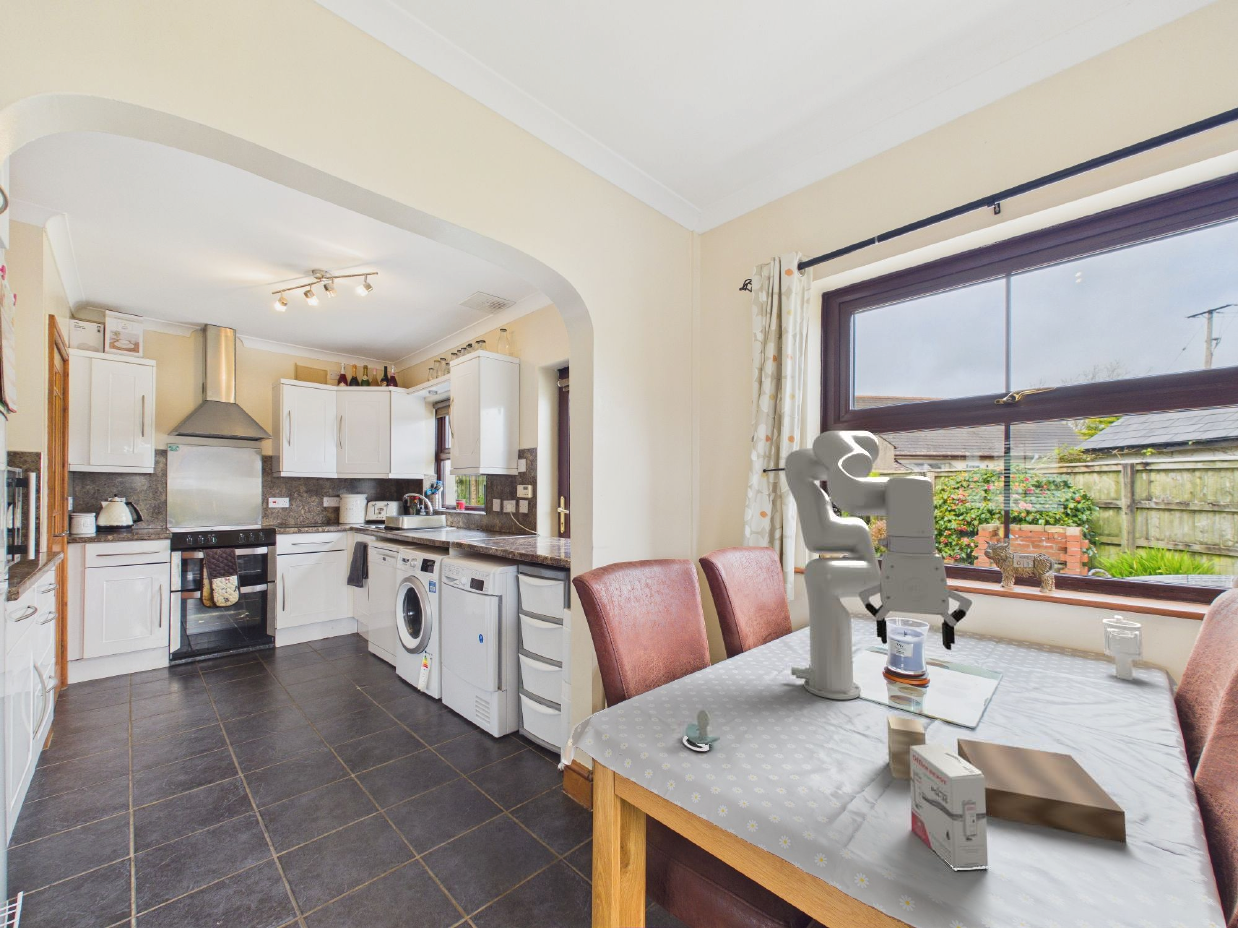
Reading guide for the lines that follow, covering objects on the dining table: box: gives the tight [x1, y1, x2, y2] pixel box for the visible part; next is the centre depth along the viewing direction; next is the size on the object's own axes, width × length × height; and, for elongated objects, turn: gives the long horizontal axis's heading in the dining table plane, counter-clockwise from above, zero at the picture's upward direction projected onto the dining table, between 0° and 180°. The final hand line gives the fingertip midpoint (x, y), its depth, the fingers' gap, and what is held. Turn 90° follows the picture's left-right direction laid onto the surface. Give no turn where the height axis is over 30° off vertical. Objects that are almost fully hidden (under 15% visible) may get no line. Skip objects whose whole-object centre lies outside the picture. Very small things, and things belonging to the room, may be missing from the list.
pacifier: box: [685, 709, 720, 745], centre depth 96 cm, size 7×6×6 cm
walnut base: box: [956, 737, 1127, 843], centre depth 80 cm, size 16×16×4 cm
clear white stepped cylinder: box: [1102, 615, 1144, 681], centre depth 130 cm, size 7×7×15 cm
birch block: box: [887, 715, 927, 781], centre depth 87 cm, size 5×5×8 cm
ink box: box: [910, 743, 989, 868], centre depth 68 cm, size 9×5×12 cm, turn 5°
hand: (914, 644), depth 88 cm, fingers open, 9 cm apart
